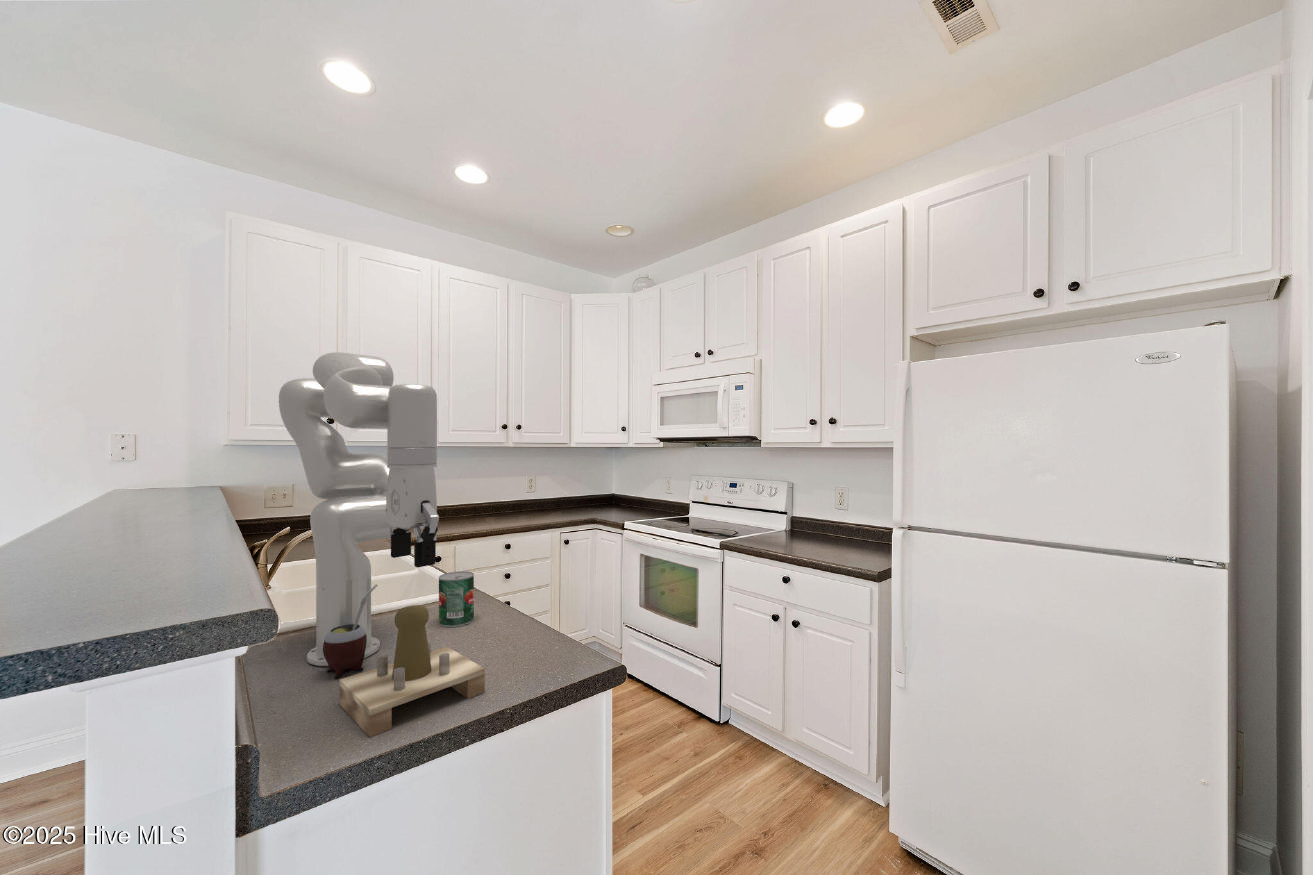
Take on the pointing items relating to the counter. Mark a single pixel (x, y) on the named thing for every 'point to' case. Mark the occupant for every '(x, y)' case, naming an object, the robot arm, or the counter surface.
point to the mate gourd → (346, 646)
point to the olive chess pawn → (412, 642)
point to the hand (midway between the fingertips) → (412, 560)
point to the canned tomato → (456, 599)
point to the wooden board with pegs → (405, 687)
